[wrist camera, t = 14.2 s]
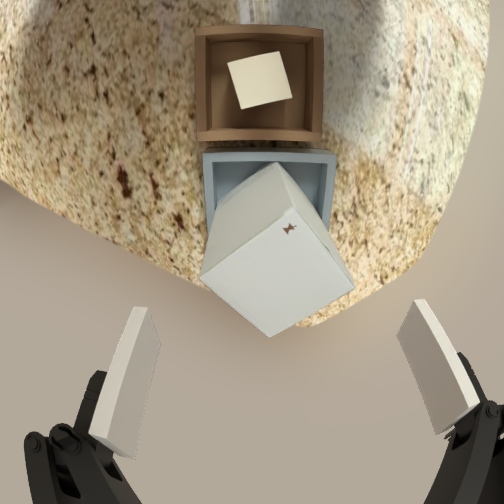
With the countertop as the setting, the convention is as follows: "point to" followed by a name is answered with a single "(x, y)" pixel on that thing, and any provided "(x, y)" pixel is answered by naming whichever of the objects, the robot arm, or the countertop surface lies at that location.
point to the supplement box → (272, 253)
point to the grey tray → (252, 158)
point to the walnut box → (269, 114)
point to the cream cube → (260, 79)
